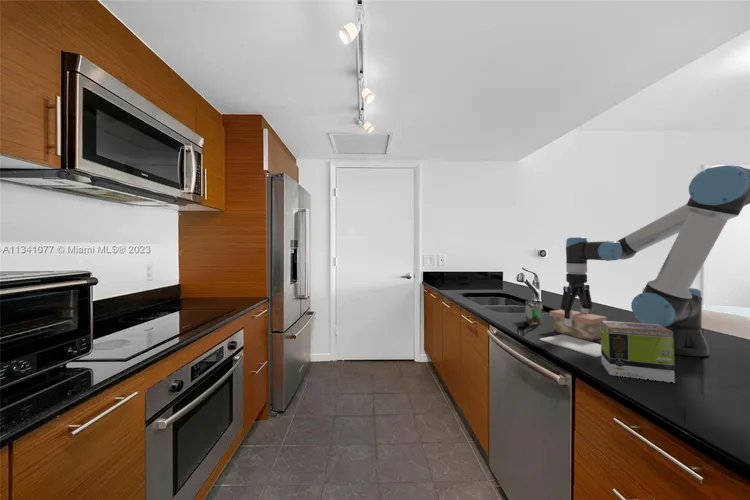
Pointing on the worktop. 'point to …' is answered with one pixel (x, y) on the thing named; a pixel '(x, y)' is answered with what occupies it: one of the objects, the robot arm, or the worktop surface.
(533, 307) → the food container
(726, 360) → the worktop surface
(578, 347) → the grey mat
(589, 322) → the peach flat tile
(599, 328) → the birch box
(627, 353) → the tea box
